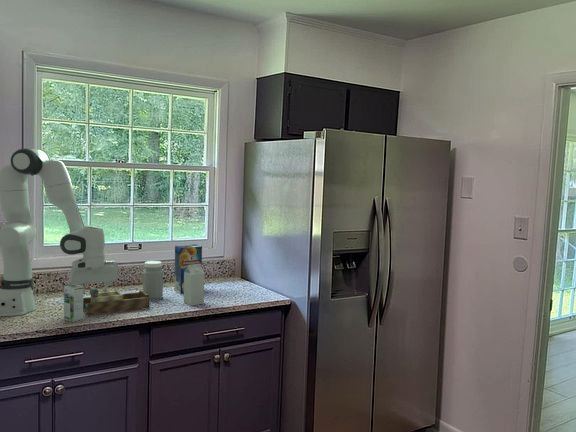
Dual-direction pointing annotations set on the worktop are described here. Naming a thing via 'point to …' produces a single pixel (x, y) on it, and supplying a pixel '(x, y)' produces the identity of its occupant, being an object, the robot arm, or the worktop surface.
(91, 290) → the drawer
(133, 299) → the bay
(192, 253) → the juice carton
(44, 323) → the worktop surface
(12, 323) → the worktop surface
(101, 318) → the worktop surface
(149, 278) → the jar
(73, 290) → the syrup box
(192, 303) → the milk carton
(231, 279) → the worktop surface
